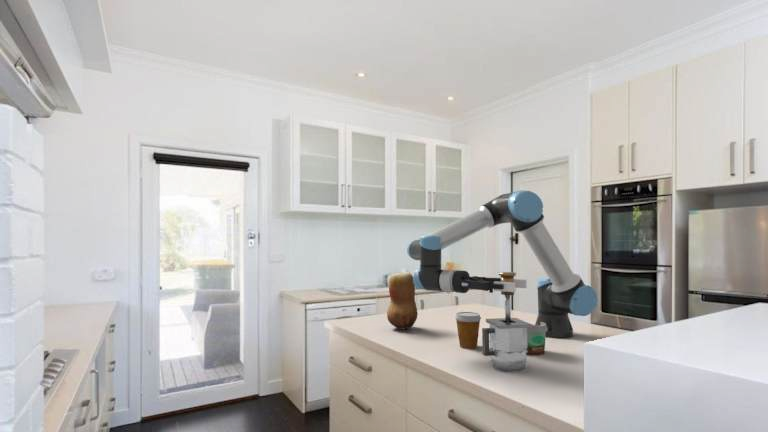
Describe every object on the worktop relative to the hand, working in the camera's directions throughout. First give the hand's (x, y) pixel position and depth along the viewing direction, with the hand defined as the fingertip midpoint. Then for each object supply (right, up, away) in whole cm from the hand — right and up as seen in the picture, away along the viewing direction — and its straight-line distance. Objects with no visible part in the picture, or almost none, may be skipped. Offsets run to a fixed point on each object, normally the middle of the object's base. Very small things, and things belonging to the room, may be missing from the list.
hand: (520, 285), depth 130 cm
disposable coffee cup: (-11, -27, +25) cm, 39 cm away
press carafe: (-5, -26, +1) cm, 26 cm away
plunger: (-3, -14, +2) cm, 14 cm away
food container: (+11, -27, +16) cm, 32 cm away
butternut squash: (-34, -29, +55) cm, 71 cm away
